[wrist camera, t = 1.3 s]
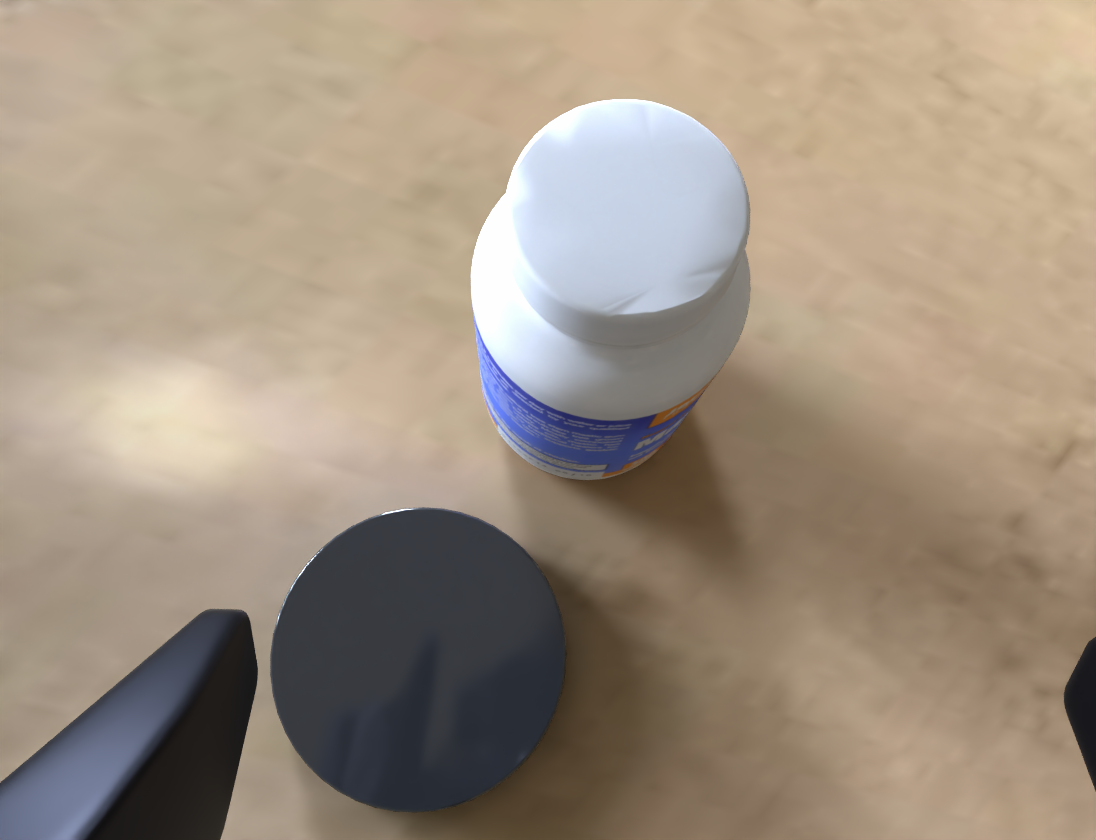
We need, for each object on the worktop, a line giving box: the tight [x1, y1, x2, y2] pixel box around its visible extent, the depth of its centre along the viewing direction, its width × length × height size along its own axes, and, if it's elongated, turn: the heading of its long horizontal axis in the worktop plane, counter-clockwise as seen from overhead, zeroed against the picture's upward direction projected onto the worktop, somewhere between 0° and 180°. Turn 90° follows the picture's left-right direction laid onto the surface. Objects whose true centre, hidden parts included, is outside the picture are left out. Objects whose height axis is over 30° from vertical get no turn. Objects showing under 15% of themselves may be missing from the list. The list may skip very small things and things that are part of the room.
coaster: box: [270, 507, 566, 813], centre depth 21 cm, size 7×7×1 cm
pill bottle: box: [471, 99, 750, 480], centre depth 19 cm, size 5×5×10 cm
